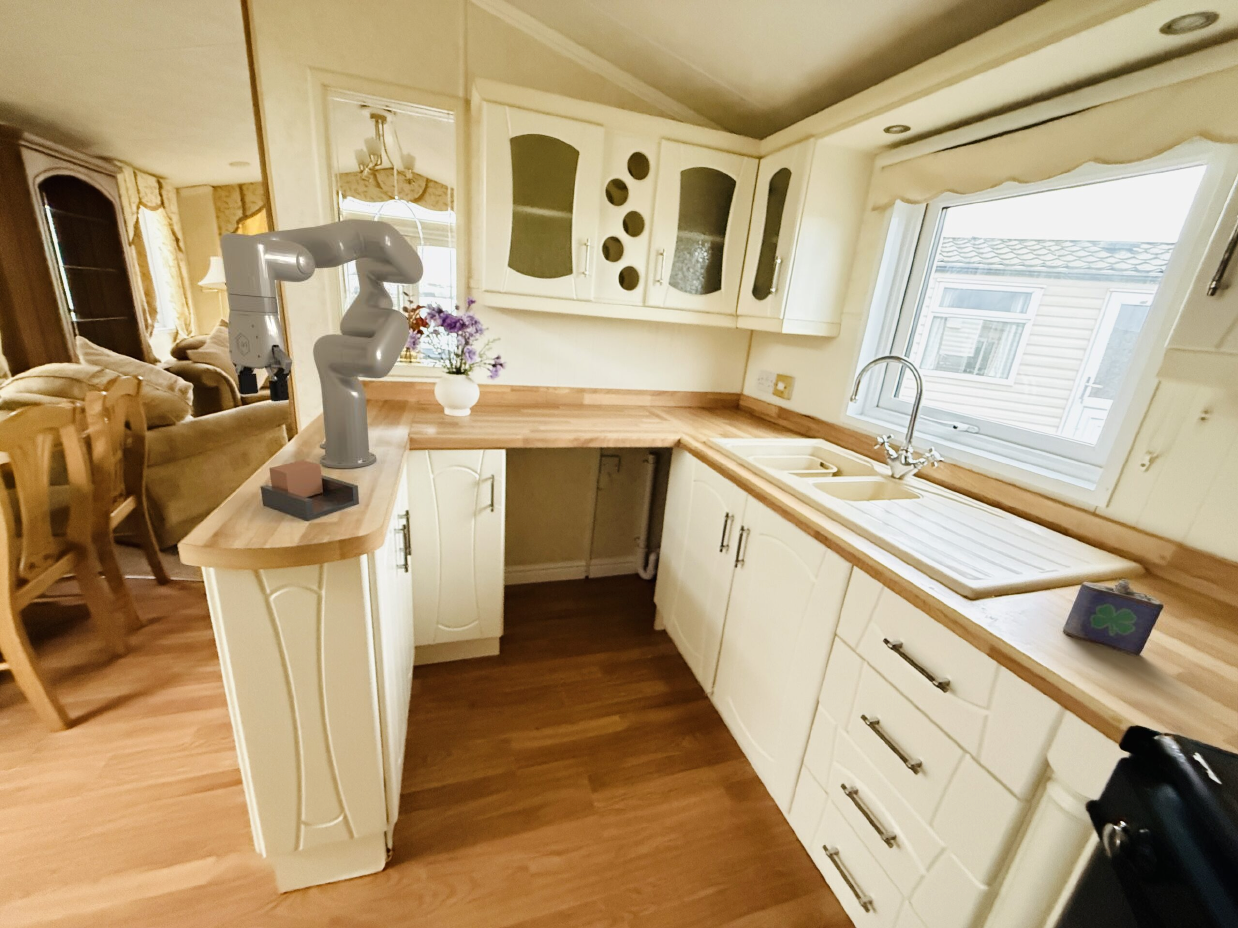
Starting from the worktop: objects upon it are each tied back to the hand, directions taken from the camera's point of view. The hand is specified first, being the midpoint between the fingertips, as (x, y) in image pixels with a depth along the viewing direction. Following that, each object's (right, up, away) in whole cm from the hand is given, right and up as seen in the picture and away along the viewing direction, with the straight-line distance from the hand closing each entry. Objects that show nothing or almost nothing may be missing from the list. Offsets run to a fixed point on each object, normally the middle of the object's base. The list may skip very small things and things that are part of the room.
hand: (264, 397), depth 98 cm
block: (+5, -20, +3) cm, 20 cm away
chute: (+8, -22, +2) cm, 23 cm away
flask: (+145, -41, -21) cm, 152 cm away
